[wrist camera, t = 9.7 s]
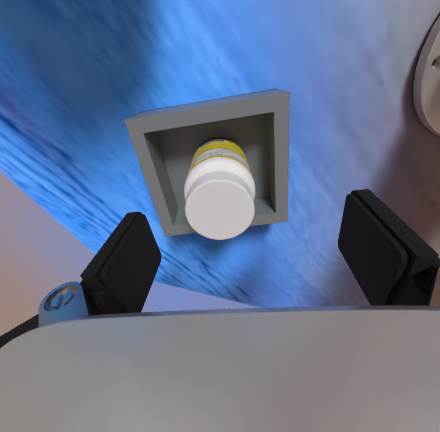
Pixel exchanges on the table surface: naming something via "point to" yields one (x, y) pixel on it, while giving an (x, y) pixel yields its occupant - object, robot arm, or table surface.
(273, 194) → the bin
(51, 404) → the robot arm
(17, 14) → the table surface
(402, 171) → the table surface
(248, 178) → the supplement bottle
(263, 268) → the table surface
